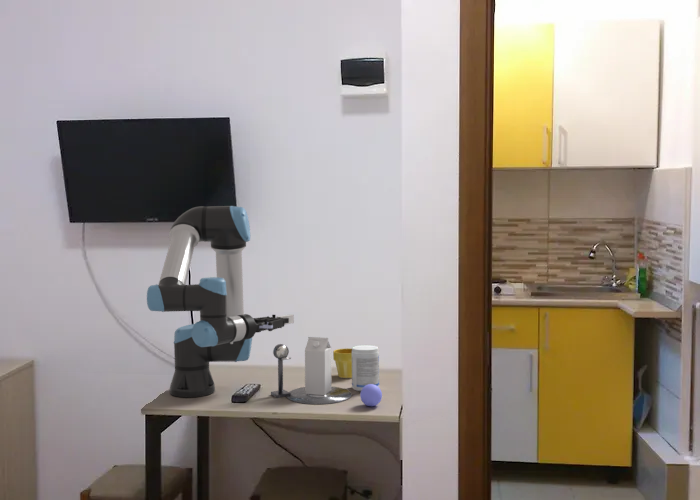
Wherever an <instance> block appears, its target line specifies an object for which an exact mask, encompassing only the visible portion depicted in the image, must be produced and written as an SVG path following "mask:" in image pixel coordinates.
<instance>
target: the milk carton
mask: <svg viewBox="0 0 700 500" xmlns="http://www.w3.org/2000/svg"><path fill="white" fill-rule="evenodd" d="M304 348H305V349H304V387H305V394H315V395H326V394H327V393H328V392H330V391H331V386H332V346H331V344H330V342H329V338H328V337H321V336H308V339H307V342H306V345H305V347H304Z"/></svg>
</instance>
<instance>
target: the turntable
mask: <svg viewBox="0 0 700 500" xmlns="http://www.w3.org/2000/svg"><path fill="white" fill-rule="evenodd" d="M288 392H290V393H291V395H287V397H286V398H287V399H288V400H289V401H292V402H295V403H298V404H304V405H328V404H330V405H331V404H336V403H337V404H338V403H342V402H344V401H347V400H349V399H350V398H351V397H352V395H353V393H352V392H351V391H350V390H348V389H346V388H343V387H339V386H332V385H331V391H330V392H328V393H327V394H326V395H315V394H305V386H303V387H297V388H294V389H292V390H289V391H288Z"/></svg>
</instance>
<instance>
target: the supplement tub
mask: <svg viewBox="0 0 700 500" xmlns="http://www.w3.org/2000/svg"><path fill="white" fill-rule="evenodd" d="M351 349H352V378H351V385H352V386H351V387H352V388H351V389H353V390H354V391H356V392H361V390H362V388H363V387H364V386H366V385H368V384H374V385H376V386H378V387H379V388H380V353H379V351H380V350H379V347H378V346H377V345H372V344H371V345H370V344H368V345H367V344H365V345H364V344H362V345H361V344H360V345H355V346H353V347H351Z"/></svg>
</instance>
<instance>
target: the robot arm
mask: <svg viewBox="0 0 700 500" xmlns="http://www.w3.org/2000/svg"><path fill="white" fill-rule="evenodd" d="M248 215H249V214H248V212H247V210H246V208H245V207H243V206H235V205H224V206H223V205H216V206H215V205H214V206H210V205H209V206H204V205H203V206H202V205H201V206H195V207H192V208H190V209H188V210H186V211H185V212H183V213H182V214H181V215H179V216H178V217H177V219H176V220H174V222H173V223H172V225H171V227H170V230H169V235H168V238H169V247H168V250H167V253H166V257H165V260H164V263H163V265H162V266H163V267H162V271H161V274H160V277H159V281H158V284H157V283H156V284H153V285H150V286H148V288H147V291H146V304H147V308H148V309H149V310H150V311H151V312H162V313H164V312H199V316H200V317H199V318H200V320H199V321H196V322H194V323H191V324H187V325H183V326H180V327H178V328H177V329H175V332H174V337H173V346H174V347H173V349H174V373H173V376H172V378H171V383H170V386H169V393H170V395H171V396H174V397H177V398H178V397H179V398H196V397H198V398H199V397H204V396H208V395H211V394H214V392H215V391H216V389H215V388H216V386H215V385H216V384H215V382H214V379H213V376H212V373H211V371H210V363H212V362H213V363H216V362H217V363H221V362H225V363H226V362H227V363H230V362H232V363H233V362H234V363H238V362H247V361H248V360H249V359H250V355H251V350H252V343H253V337H254V336H255V334H256V333H261V332H264V331H268V332H272V331H273V330H274V331H275V330H278V329H282V328H284V327H285V326H286V325H291V324H294V322H295V320H294V319H295V317H294V314H284V315H278V316H276V314H272V315H271V316H269V315H268V316H263V317H254V318H253V316H251V315H250V314H247V313H245V314H244V312H245V311H244V284H243V257H242V255H243V254H242V253H243V250H244V249H246V247H247V242H248V243H249V242H250V241H251V229H250V227H251V226H250V220H249V216H248ZM200 242H205V243H206V242H207V243H209V242H210V249H212V250H213V251H214V252H215V264H216V265H215V266H216V269H215V270H216V276H214V277H211V276H210V277H202V278H200V279H199V283H198V284H197V283H196V284H187V279H188V275H189V270H190V266H191V263H192V258H193V254H194V249H195V247H196V246H198V244H199V243H200Z"/></svg>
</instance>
